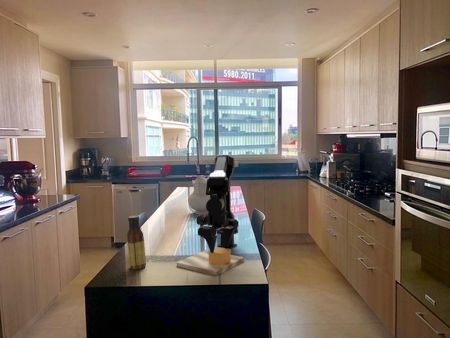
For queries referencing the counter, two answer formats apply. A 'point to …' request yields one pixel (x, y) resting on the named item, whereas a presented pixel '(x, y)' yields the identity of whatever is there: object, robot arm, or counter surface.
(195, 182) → the ceramic pitcher
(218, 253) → the amber foam cube
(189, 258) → the birch board
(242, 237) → the counter surface
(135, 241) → the sauce bottle
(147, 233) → the counter surface
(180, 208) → the counter surface
